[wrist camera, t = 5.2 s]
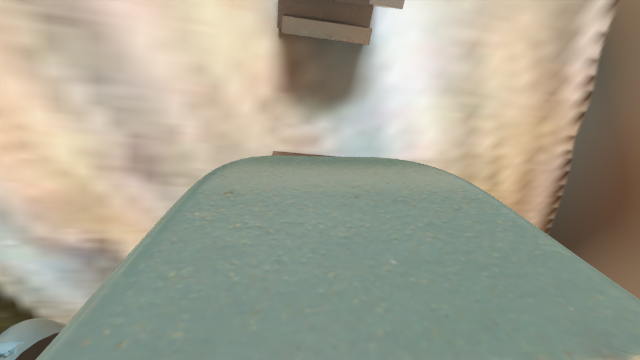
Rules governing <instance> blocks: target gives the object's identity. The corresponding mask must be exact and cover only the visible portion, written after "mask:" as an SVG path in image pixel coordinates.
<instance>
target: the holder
mask: <svg viewBox="0 0 640 360" xmlns="http://www.w3.org/2000/svg"><path fill="white" fill-rule="evenodd" d="M404 1H405V0H279V1H278V26H277V28H282V33H285V34H292V35H299V36H307V37H314V38H321V39H328V40H335V41H343V42H350V43H357V44H364V45H369V42H370V37H371V32H372V29H371V28H369V25H370V20H371V15H372V10H373V6H376V7H386V8H396V9H403V5H404ZM272 156H309V157H334V156H323V155H311V154H300V153H288V152H277V151H273V154H272Z"/></svg>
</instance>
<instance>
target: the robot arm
mask: <svg viewBox="0 0 640 360" xmlns="http://www.w3.org/2000/svg"><path fill="white" fill-rule="evenodd" d="M65 326H66V324H63V323H59V322H56V321H52V320H48V319H42V318H37V319H30V320H26V321H23V322H20V323H18V324H16V325H14V326H12V327H10V328H8V329H7V330H6V331H4V332H3V333H2V334H1V335H0V360H36V359H37V358H38V356H39V355H40V354H41V353H42V352H43V351H44V350H45V349H46V348H47V346H48V345H49V344H50V343H51V342H52V341H53V340H54V338H55V337H56V336H57V335H58V334H59V333H60V332H61V331H62V329H63V328H64V327H65Z"/></svg>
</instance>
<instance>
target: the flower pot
mask: <svg viewBox="0 0 640 360" xmlns="http://www.w3.org/2000/svg"><path fill="white" fill-rule="evenodd" d="M36 360H640V300H639V299H637V298H636V297H635V296H633V295H632V294H630V293H629V292H628V291H626V290H625V289H623V288H622V287H620V286H619V285H618V284H616V283H615V282H613V281H612V280H611V279H609V278H608V277H606V276H605V275H603V274H602V273H601V272H599V271H598V270H596V269H595V268H593V267H592V266H591V265H589V264H588V263H586V262H585V261H583V260H582V259H581V258H579V257H578V256H576V255H575V254H574V253H572V252H571V251H569V250H568V249H567V248H565V247H564V246H563V245H561V244H560V243H558V242H557V241H556V240H554V239H553V238H551V237H550V236H549V235H547V234H546V233H544V232H543V231H541V230H540V229H538V228H537V227H535V226H534V225H533V224H531V223H530V222H529V221H527V220H526V219H524V218H523V217H522V216H520V215H519V214H517V213H516V212H515V211H513V210H512V209H510V208H509V207H507V206H506V205H504V204H503V203H502V202H500V201H499V200H497V199H496V198H494V197H493V196H491V195H490V194H488V193H487V192H485V191H483V190H482V189H480V188H478V187H477V186H475V185H473V184H472V183H470V182H468V181H466V180H464V179H462V178H460V177H458V176H456V175H453V174H451V173H449V172H446V171H443V170H441V169H438V168H435V167H431V166H428V165H424V164H420V163H416V162H411V161H406V160H398V159H389V158H376V157H309V156H261V157H251V158H246V159H240V160H237V161H234V162H230V163H228V164H225V165H223V166H221V167H219V168H217V169H215V170H213V171H212V172H210V173H208V174H207V175H205V176H204V177H203V178H201V179H200V180H199V181H198V182H196V183H195V184H194V185H193V186H192V187H191V188H190V189H189V190H188V191H187V192H186V193H185V194H184V195H183V196H182V197H181V198H180V199H179V200H178V201H177V202H176V203H175V204H174V205H173V206H172V207H171V208H170V210H169V211H168V212H167V213H166V214H165V215H164V216H163V217H162V218H161V219H160V221H159V222H158V223H157V224H156V225H155V226H154V227H153V228H152V229H151V231H150V232H149V233H148V234H147V235H146V236H145V237H144V238H143V239H142V240H141V242H140V243H139V244H138V245H137V246H136V247H135V248H134V249H133V250H132V252H131V253H130V254H129V255H128V256H127V257H126V258H125V259H124V260H123V262H122V263H121V264H120V265H119V266H118V267H117V268H116V269H115V270H114V272H113V273H112V274H111V275H110V276H109V277H108V278H107V280H106V281H105V282H104V283H103V284H102V285H101V286H100V287H99V289H98V290H97V291H96V292H95V293H94V294H93V295H92V297H91V298H90V299H89V300H88V301H87V302H86V303H85V304H84V306H83V307H82V308H81V309H80V310H79V311H78V312H77V314H76V315H75V316H74V317H73V318H72V319H71V320H70V321H69V323H68V324H67V325H66V326H65V327H64V328H63V329H62V331H61V332H60V333H59V334H58V335H57V336H56V337H55V338H54V340H53V341H52V342H51V343H50V344H49V345H48V346H47V348H46V349H45V350H44V351H43V352H42V353H41V354H40V355H39V356H38V358H37V359H36Z"/></svg>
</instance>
